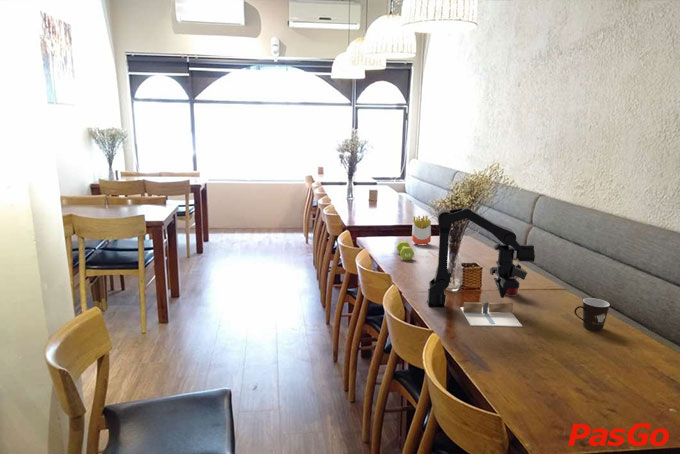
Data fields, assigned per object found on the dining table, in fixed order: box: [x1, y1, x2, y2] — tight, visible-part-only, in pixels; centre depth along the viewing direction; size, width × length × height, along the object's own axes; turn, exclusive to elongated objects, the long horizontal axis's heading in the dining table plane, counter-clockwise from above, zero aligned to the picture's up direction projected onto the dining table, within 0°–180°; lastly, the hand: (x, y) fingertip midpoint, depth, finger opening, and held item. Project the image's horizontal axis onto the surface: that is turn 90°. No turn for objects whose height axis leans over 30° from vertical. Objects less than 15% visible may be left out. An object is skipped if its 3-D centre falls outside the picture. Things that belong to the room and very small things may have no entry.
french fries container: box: [411, 215, 432, 245], centre depth 286 cm, size 5×11×18 cm, turn 91°
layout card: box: [459, 306, 523, 328], centre depth 181 cm, size 19×17×1 cm
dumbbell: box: [396, 240, 415, 261], centre depth 262 cm, size 16×8×7 cm, turn 1°
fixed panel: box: [463, 301, 489, 314], centre depth 183 cm, size 9×2×5 cm, turn 88°
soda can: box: [505, 276, 521, 297], centre depth 204 cm, size 7×7×12 cm
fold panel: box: [488, 302, 514, 314], centre depth 183 cm, size 9×1×4 cm, turn 88°
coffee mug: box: [573, 297, 611, 333], centre depth 171 cm, size 12×9×10 cm
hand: (502, 297), depth 187 cm, fingers closed
